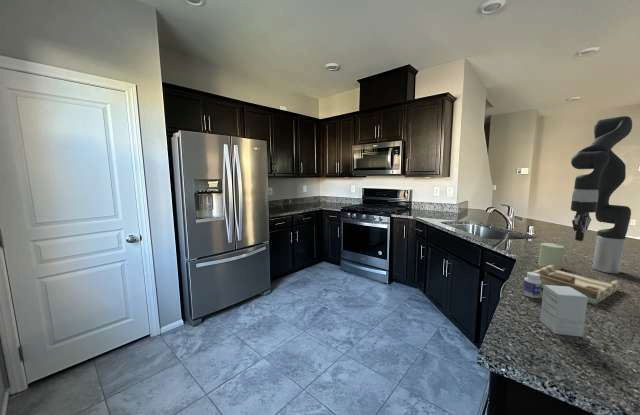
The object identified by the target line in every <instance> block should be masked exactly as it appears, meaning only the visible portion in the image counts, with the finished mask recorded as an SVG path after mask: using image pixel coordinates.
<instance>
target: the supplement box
mask: <svg viewBox="0 0 640 415" xmlns="http://www.w3.org/2000/svg"><path fill="white" fill-rule="evenodd" d="M541 300H542V301H541V307H540V308H541V310H540V316H539V321H540V322H541V323H542V324H543V325H544V326H545V327H546V328H547V329H549V330H550V331H551V332H552V333H553V334H555V335H562V336H571V337H572V336H573V337H581V338H583V337H584V331H585V330H584V329H585V325H586V324H585V322H586V315H587V308H588V297H587V296H585V295H584V294H582V293H580V292H578V291H577V290H575V289H573V288H571V287H567V286H554V285H544V288H543V291H542V299H541Z"/></svg>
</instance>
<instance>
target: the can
mask: <svg viewBox="0 0 640 415" xmlns="http://www.w3.org/2000/svg"><path fill="white" fill-rule="evenodd" d="M539 248H540V250H539V256H538V263H537V265H538V266H540V267H541V268H544V267H546V266H549V265H555V269H556V270H562V269H563V268H562V266H563V265H562V263H563V256H564V249H565V246H564V245H561V244H557V243H552V242H551V243H550V242H542V243H540V247H539Z"/></svg>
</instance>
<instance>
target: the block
mask: <svg viewBox="0 0 640 415" xmlns="http://www.w3.org/2000/svg"><path fill="white" fill-rule="evenodd" d="M550 278H553V279H557V280H560V281H564V282H567V283H571V284H575V278H576V277H574V276H570V275H566V274H562V273H558V272H556V273H553V274H551V275H550Z"/></svg>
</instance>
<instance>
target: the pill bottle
mask: <svg viewBox="0 0 640 415" xmlns="http://www.w3.org/2000/svg"><path fill="white" fill-rule="evenodd" d="M526 272H527V271H526ZM523 279H524V280H523V285H522V286H523V288H522V294H523V295H524V296H526V297H529V298H533V299H538V298H540V297H541V290H542V288H541V281H540V280H539V279H540V274H537V273H534V272H533V271H528V272H527V277H526V276H525V277H524V278H523Z"/></svg>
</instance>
